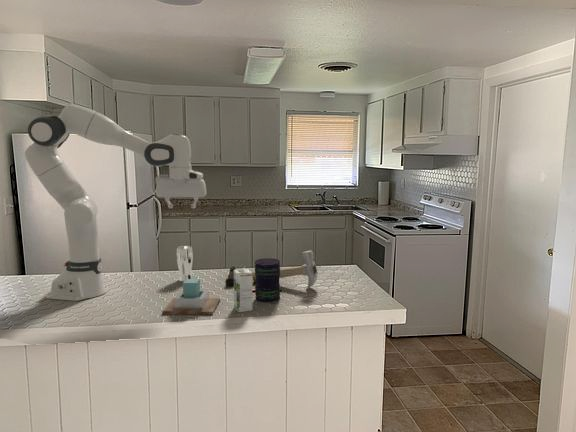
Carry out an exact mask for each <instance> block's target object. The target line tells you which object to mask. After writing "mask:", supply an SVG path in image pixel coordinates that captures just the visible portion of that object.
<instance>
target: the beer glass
mask: <svg viewBox="0 0 576 432" xmlns="http://www.w3.org/2000/svg"><path fill="white" fill-rule="evenodd" d="M193 256H194V255H193V247H192V245H180V246H177V247H176V263H177V267H178V273H179V275H178V281H179V282H182V283H183V282H184V281H185V280H186V279H193V275H192V267H193V260H194V259H193Z"/></svg>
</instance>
